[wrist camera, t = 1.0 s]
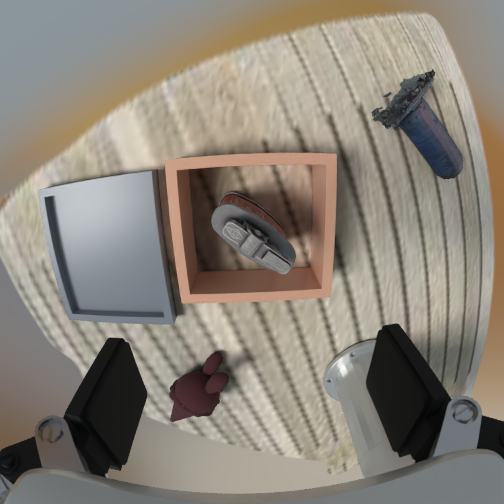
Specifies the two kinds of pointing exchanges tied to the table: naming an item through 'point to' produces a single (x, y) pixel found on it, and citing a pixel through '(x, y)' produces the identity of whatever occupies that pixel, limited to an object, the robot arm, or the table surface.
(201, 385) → the icecream
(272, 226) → the lighter
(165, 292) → the tray
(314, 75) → the table surface
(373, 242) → the table surface
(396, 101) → the dark blue piece
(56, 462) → the robot arm
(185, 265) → the pink open box
